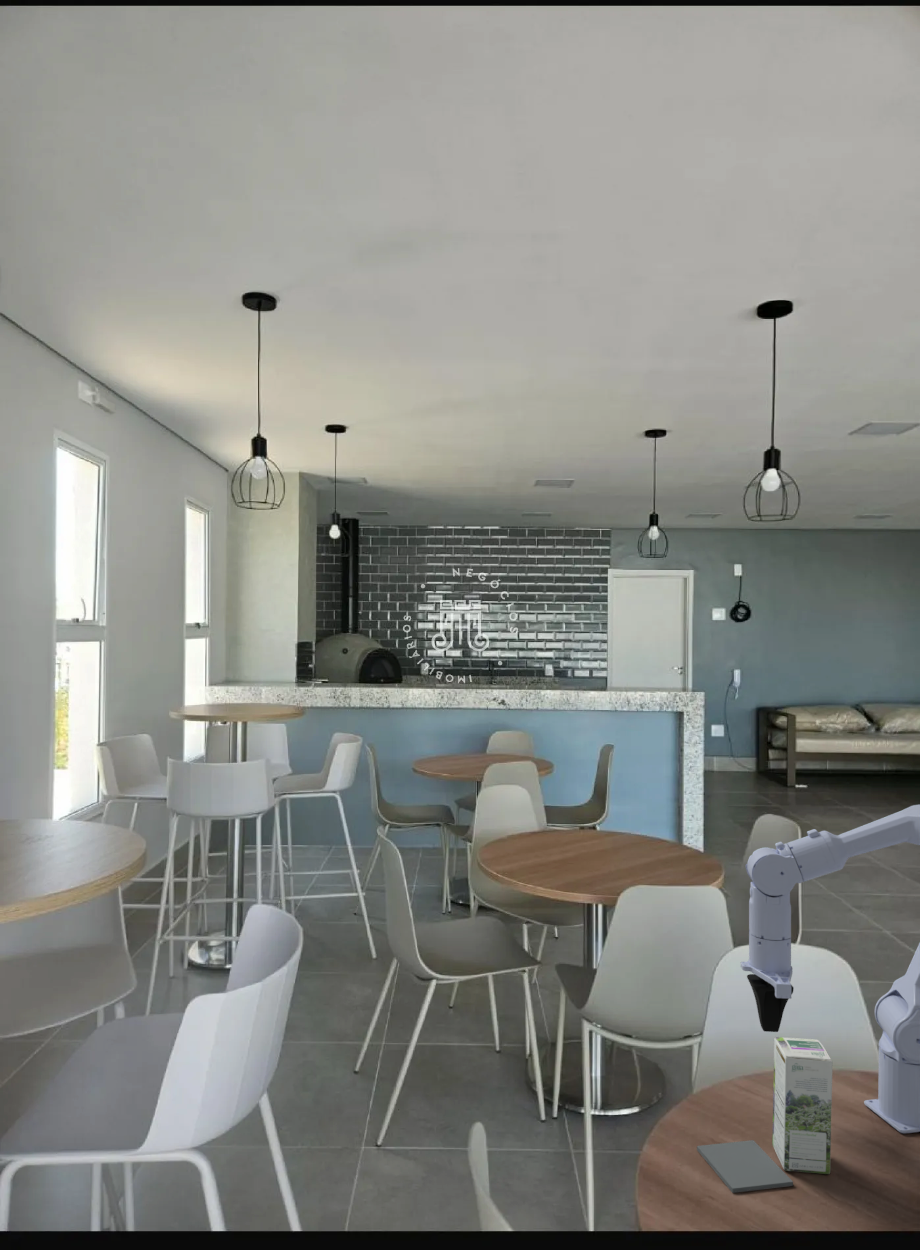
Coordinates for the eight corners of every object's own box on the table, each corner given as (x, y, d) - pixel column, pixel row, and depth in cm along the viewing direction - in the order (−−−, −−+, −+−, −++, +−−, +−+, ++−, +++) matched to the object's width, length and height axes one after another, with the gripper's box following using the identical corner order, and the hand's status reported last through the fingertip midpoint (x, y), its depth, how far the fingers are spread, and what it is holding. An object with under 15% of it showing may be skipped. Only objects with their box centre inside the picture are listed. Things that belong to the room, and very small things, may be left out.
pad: (753, 1143, 114) (753, 1139, 114) (793, 1185, 105) (793, 1181, 105) (696, 1149, 113) (696, 1145, 113) (732, 1192, 104) (732, 1188, 104)
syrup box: (817, 1149, 113) (818, 1036, 114) (831, 1176, 107) (833, 1057, 108) (771, 1146, 114) (773, 1033, 114) (783, 1173, 108) (785, 1054, 108)
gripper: (730, 917, 133) (730, 1007, 133) (753, 950, 119) (753, 1051, 118) (777, 919, 133) (777, 1009, 132) (807, 952, 118) (807, 1053, 118)
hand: (769, 1029), depth 125 cm, fingers closed
